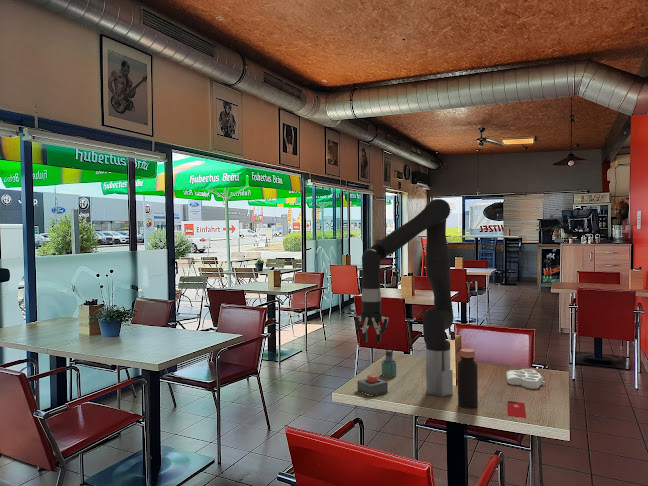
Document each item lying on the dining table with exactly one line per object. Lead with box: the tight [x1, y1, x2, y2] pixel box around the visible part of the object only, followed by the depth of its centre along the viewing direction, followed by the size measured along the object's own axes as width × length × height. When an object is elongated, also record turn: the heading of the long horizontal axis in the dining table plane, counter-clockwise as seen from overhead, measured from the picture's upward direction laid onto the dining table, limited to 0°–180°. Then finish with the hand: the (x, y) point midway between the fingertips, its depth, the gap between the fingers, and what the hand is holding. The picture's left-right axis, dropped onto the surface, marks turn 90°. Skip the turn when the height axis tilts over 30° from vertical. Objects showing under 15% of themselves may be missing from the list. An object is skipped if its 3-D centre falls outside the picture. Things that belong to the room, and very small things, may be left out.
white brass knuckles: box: [506, 368, 546, 390], centre depth 198 cm, size 3×18×15 cm
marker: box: [385, 349, 394, 363], centre depth 210 cm, size 3×3×10 cm
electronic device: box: [506, 400, 527, 419], centre depth 167 cm, size 6×1×15 cm
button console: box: [356, 377, 389, 396], centre depth 188 cm, size 8×8×4 cm
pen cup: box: [381, 359, 397, 378], centre depth 210 cm, size 6×6×6 cm
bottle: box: [457, 348, 479, 410], centre depth 171 cm, size 7×7×20 cm
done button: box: [366, 374, 378, 384], centre depth 188 cm, size 4×4×3 cm
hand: (371, 342), depth 188 cm, fingers open, 4 cm apart
